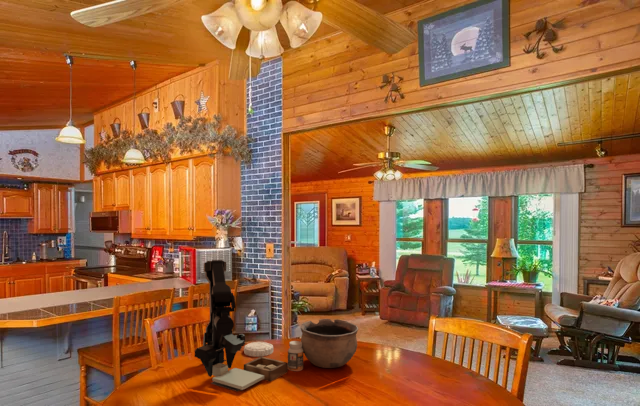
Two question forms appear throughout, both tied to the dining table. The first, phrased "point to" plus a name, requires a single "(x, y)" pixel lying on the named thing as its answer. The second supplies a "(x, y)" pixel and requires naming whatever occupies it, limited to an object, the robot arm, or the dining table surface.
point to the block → (270, 367)
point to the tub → (268, 374)
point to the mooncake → (258, 349)
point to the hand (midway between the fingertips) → (220, 372)
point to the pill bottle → (295, 356)
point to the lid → (235, 376)
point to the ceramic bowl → (329, 342)
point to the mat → (225, 386)
